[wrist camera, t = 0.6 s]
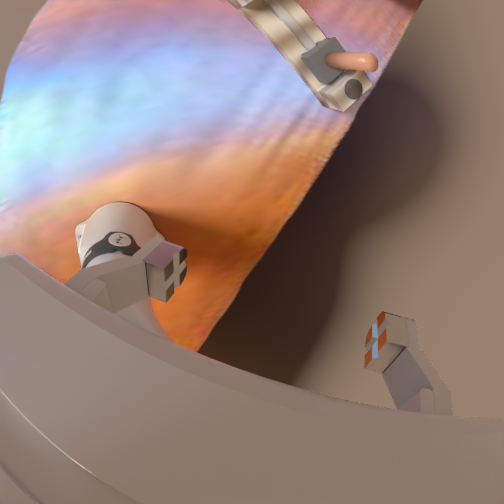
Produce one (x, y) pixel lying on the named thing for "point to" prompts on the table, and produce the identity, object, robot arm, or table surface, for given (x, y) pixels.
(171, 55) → the table surface
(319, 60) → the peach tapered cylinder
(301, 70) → the rail track
